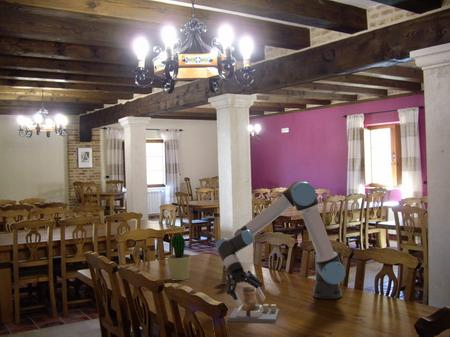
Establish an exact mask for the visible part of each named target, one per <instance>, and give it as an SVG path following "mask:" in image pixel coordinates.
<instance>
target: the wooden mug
mask: <svg viewBox="0 0 450 337" xmlns="http://www.w3.org/2000/svg"><path fill="white" fill-rule="evenodd" d="M228 274H229V273H228V271H227V269H226V267H225V265H224V264H223V265H222V276H221V283H222V284H226V285H225V286H227V280H226V276H227V275H228ZM233 282H234V280H233V279H231V284H233ZM221 283H220V284H221ZM222 284H221V285H222Z"/></svg>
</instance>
